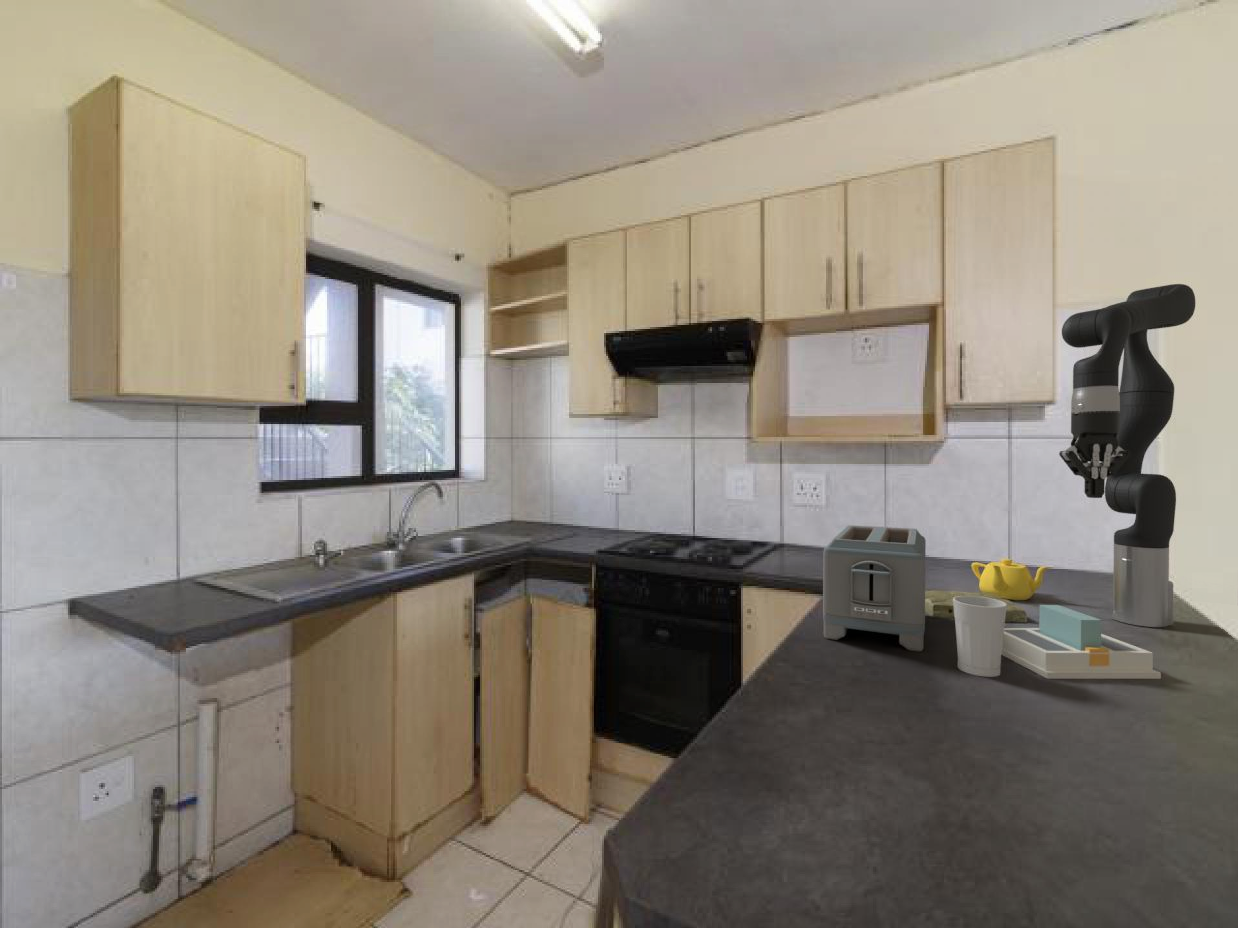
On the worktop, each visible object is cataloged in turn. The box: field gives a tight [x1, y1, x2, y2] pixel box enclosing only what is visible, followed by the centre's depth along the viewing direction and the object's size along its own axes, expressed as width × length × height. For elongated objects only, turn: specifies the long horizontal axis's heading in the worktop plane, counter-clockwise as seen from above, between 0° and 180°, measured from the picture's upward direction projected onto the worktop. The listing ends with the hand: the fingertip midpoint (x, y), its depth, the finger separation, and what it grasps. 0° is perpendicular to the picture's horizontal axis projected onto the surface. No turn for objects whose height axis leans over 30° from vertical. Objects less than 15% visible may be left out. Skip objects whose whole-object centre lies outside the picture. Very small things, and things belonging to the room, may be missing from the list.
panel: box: [1038, 604, 1103, 651], centre depth 105 cm, size 4×10×8 cm, turn 0°
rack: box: [1001, 627, 1162, 680], centre depth 105 cm, size 19×16×5 cm
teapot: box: [970, 558, 1051, 601], centre depth 154 cm, size 14×13×10 cm
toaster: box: [822, 524, 927, 652], centre depth 126 cm, size 19×33×20 cm, turn 152°
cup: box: [953, 596, 1007, 678], centre depth 101 cm, size 8×8×12 cm
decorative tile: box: [925, 590, 1028, 623], centre depth 140 cm, size 19×20×4 cm
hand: (1094, 497), depth 116 cm, fingers closed
